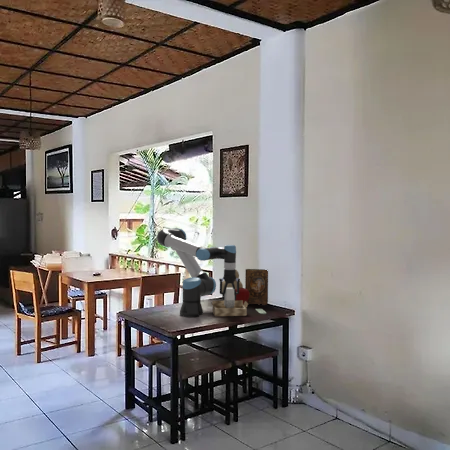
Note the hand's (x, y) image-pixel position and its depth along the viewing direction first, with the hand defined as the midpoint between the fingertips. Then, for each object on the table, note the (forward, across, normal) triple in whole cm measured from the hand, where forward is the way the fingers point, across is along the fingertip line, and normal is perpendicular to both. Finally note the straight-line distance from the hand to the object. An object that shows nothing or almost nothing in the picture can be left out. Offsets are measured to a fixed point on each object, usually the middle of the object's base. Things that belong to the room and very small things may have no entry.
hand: (229, 304), depth 314 cm
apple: (+7, +14, +31) cm, 35 cm away
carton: (+7, 0, 0) cm, 7 cm away
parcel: (+1, 0, 0) cm, 1 cm away
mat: (+7, +19, +8) cm, 22 cm away
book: (+7, +26, +35) cm, 44 cm away
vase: (+7, +10, +48) cm, 49 cm away
